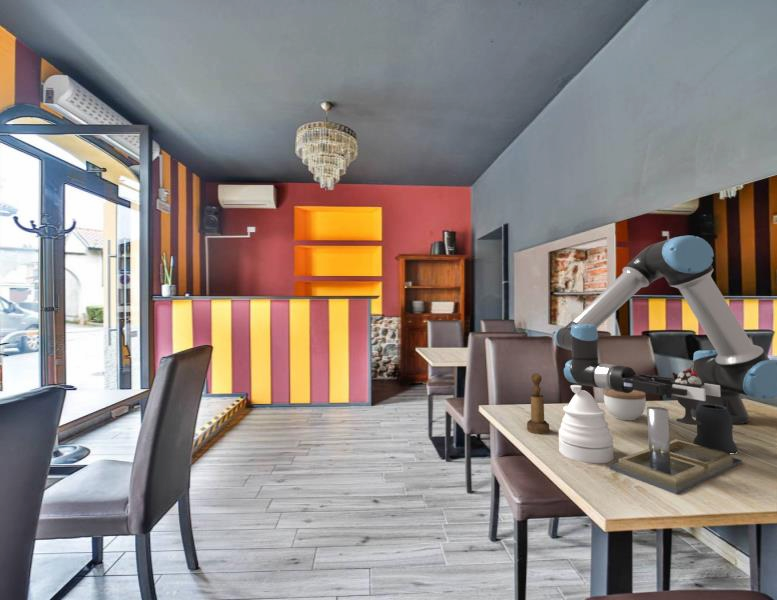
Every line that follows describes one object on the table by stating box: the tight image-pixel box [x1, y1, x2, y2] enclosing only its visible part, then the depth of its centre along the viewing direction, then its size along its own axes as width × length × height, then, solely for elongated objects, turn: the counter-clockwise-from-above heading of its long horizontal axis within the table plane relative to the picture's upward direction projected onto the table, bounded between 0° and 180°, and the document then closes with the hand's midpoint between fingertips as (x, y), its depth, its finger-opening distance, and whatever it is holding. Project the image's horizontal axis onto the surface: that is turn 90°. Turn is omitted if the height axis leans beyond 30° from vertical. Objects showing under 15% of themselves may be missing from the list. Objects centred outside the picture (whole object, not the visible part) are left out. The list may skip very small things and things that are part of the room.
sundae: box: [671, 363, 704, 426], centre depth 93 cm, size 7×7×15 cm
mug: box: [692, 404, 739, 453], centre depth 101 cm, size 12×9×11 cm
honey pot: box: [558, 384, 615, 464], centre depth 99 cm, size 13×13×18 cm
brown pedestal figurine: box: [526, 373, 550, 435], centre depth 118 cm, size 7×6×18 cm
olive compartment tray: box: [609, 406, 743, 495], centre depth 90 cm, size 30×14×15 cm, turn 117°
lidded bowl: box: [602, 388, 647, 421], centre depth 129 cm, size 13×13×11 cm
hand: (712, 393), depth 89 cm, fingers closed on sundae, 7 cm apart
